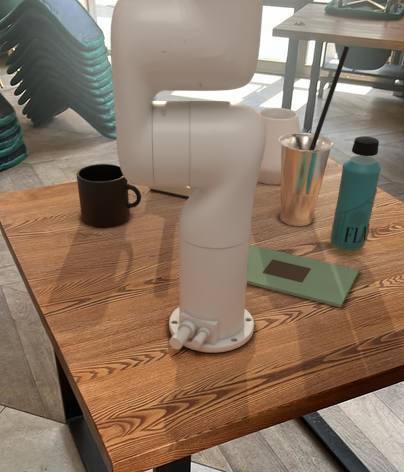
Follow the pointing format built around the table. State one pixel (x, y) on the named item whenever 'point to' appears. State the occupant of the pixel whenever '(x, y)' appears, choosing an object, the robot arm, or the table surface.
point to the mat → (299, 276)
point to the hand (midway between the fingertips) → (203, 66)
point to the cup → (275, 141)
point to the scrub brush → (174, 191)
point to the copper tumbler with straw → (305, 166)
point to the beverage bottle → (356, 196)
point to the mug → (104, 195)
